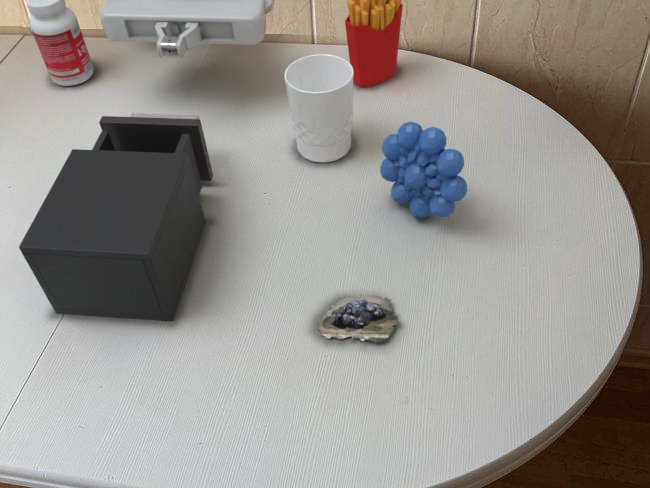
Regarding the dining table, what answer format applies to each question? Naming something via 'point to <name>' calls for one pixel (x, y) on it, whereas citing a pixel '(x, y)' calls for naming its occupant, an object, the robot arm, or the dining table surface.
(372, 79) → the french fries
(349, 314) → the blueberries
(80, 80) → the pill bottle
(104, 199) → the cabinet
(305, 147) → the white cup
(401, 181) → the grapes
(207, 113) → the dining table surface
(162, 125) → the drawer
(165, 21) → the robot arm
